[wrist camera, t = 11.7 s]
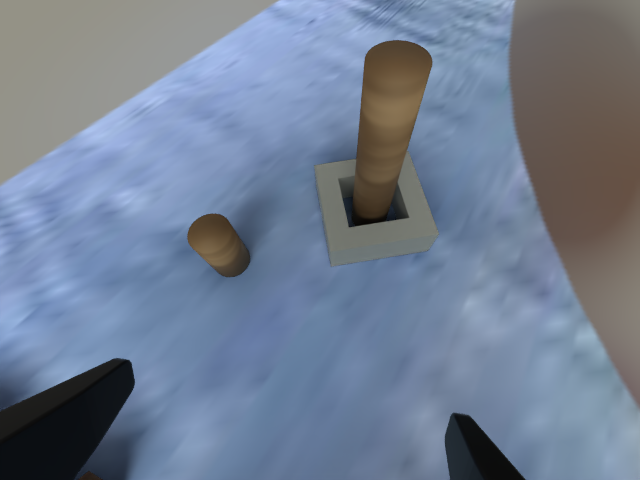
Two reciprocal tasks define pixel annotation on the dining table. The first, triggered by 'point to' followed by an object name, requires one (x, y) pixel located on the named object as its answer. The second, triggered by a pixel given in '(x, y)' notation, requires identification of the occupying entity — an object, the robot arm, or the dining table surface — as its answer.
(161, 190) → the dining table surface
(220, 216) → the short dowel
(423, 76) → the long dowel
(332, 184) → the hole block
